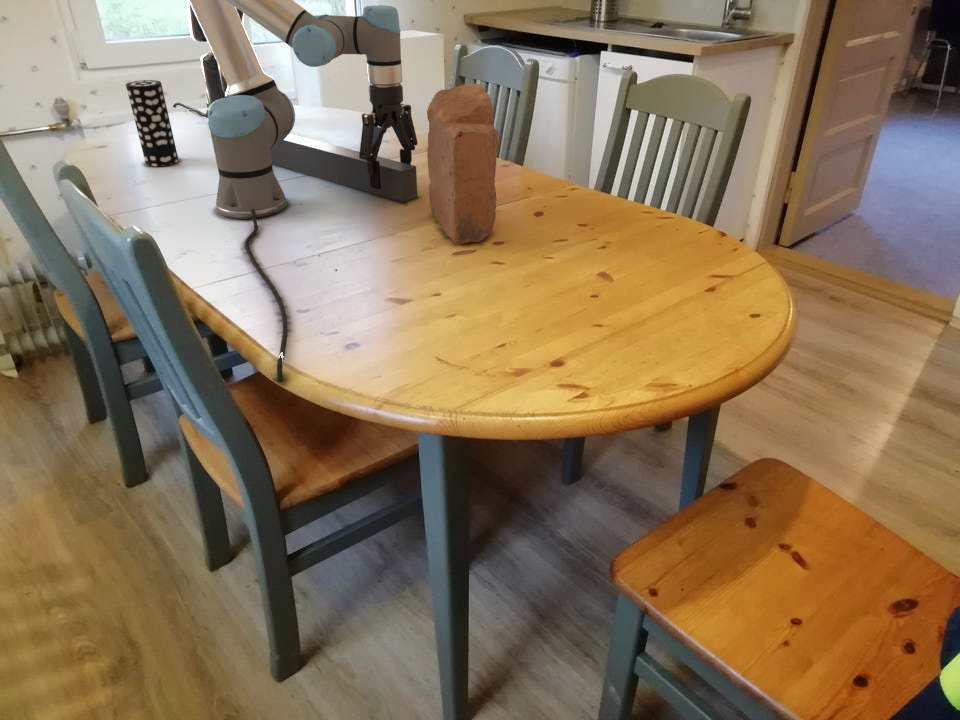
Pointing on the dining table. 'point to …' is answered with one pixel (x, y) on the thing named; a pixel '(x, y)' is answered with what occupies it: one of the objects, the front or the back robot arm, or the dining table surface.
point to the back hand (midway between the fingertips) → (245, 136)
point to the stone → (462, 162)
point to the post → (345, 167)
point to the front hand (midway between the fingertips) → (391, 182)
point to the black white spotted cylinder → (152, 122)
